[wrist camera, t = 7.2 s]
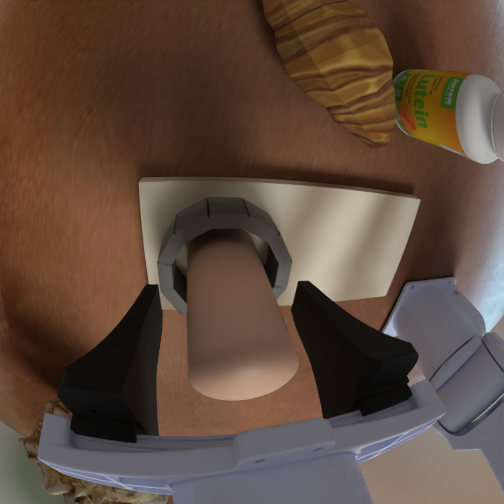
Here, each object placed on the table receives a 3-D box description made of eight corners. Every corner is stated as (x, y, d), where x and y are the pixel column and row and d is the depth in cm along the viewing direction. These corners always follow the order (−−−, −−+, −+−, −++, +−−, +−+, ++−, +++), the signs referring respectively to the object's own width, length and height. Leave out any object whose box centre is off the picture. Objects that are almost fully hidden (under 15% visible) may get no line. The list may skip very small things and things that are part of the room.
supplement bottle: (386, 61, 13) (505, 66, 5) (436, 78, 14) (540, 100, 5) (384, 133, 16) (498, 178, 8) (433, 141, 16) (531, 185, 8)
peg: (257, 223, 17) (308, 331, 9) (253, 281, 19) (289, 392, 11) (185, 225, 16) (181, 343, 8) (190, 284, 18) (195, 403, 11)
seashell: (10, 503, 5) (27, 489, 12) (198, 535, 14) (150, 517, 21) (34, 339, 19) (39, 380, 26) (187, 391, 27) (147, 415, 34)
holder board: (413, 195, 19) (441, 213, 16) (380, 289, 24) (398, 313, 21) (142, 177, 15) (128, 196, 12) (154, 300, 20) (149, 334, 17)
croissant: (212, -2, 10) (217, -39, 6) (303, -37, 9) (335, -68, 4) (331, 167, 17) (372, 192, 13) (401, 122, 16) (450, 135, 11)
